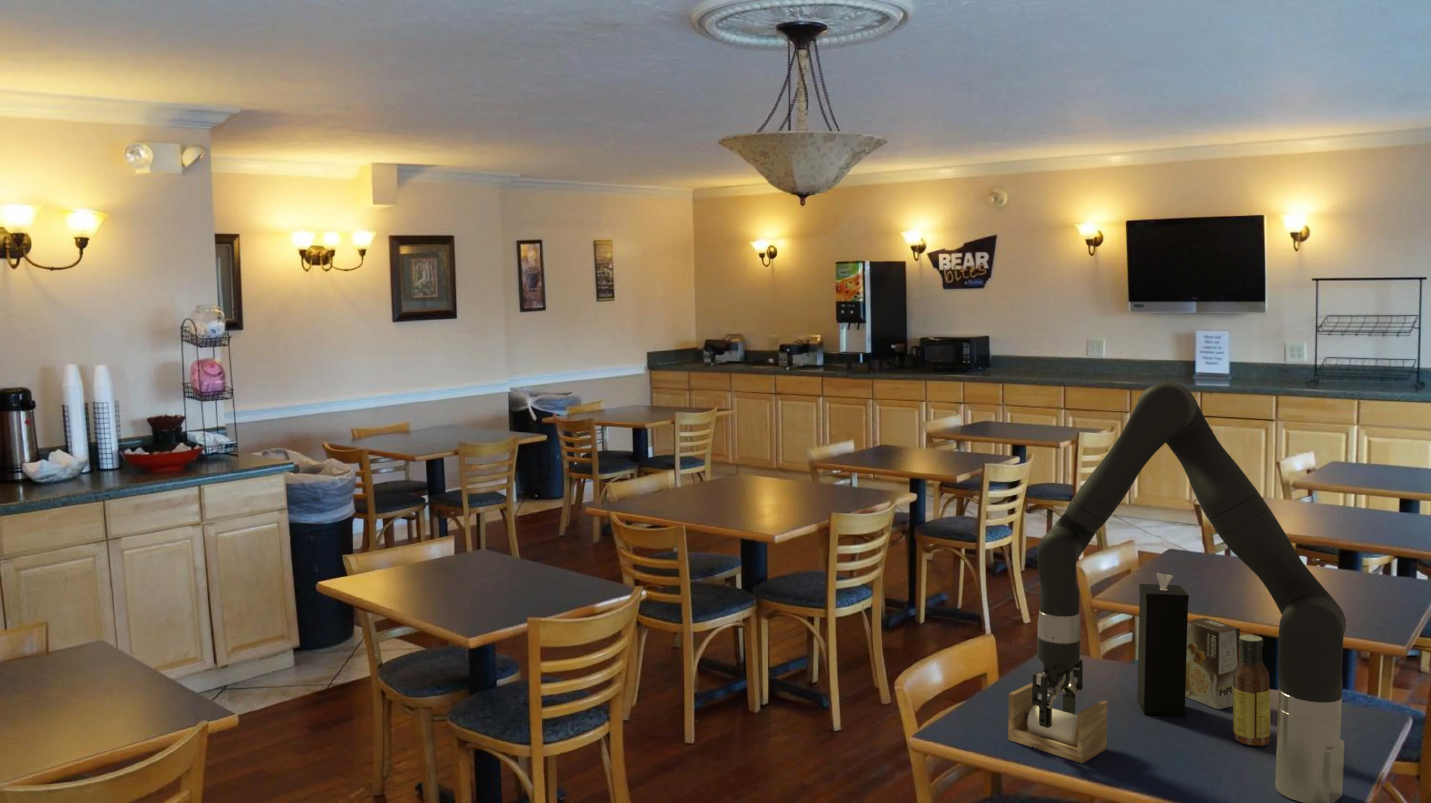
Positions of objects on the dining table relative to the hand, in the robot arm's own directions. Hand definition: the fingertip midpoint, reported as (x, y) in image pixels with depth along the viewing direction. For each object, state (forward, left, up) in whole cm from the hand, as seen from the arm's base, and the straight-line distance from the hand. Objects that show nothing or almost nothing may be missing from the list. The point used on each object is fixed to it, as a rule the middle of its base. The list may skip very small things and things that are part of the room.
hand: (1057, 720), depth 203 cm
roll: (0, 0, -4) cm, 4 cm away
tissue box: (-6, -31, -5) cm, 32 cm away
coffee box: (-10, -43, -5) cm, 45 cm away
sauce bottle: (-24, -27, -5) cm, 37 cm away
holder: (0, 0, -5) cm, 5 cm away
